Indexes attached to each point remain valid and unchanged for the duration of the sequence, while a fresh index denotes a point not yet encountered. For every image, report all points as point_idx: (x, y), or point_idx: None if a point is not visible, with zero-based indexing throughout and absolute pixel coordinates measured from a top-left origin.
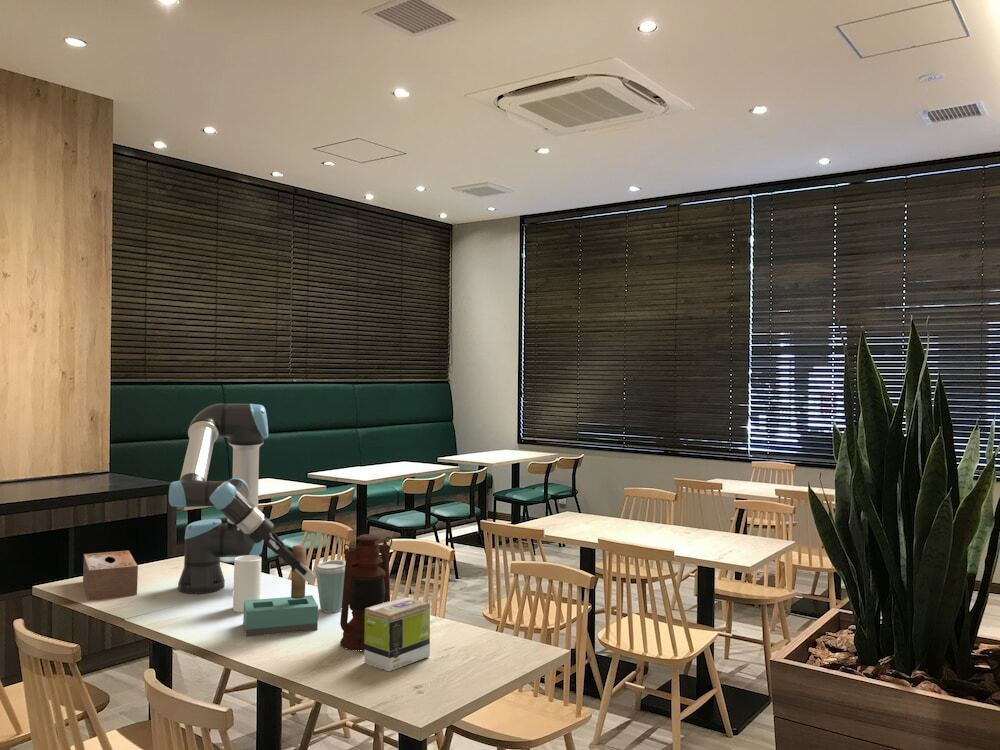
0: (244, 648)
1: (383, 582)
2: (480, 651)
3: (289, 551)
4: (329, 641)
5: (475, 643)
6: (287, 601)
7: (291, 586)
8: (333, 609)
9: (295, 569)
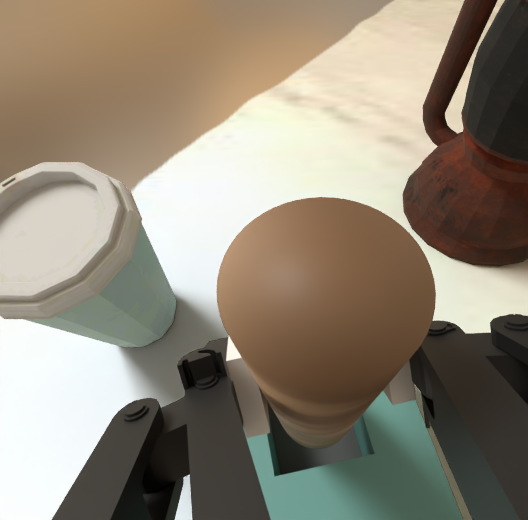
0: None
1: None
2: (485, 31)
3: (251, 463)
4: (482, 298)
5: (437, 38)
6: (301, 472)
7: (329, 442)
8: (175, 301)
9: (411, 387)
